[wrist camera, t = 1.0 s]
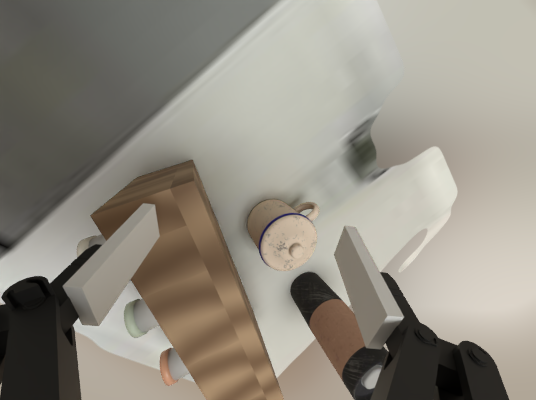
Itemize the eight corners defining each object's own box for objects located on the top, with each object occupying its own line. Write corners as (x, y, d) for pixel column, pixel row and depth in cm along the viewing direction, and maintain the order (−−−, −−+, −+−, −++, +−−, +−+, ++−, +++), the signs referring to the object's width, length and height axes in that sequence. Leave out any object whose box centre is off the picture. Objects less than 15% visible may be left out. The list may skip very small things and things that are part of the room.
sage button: (129, 295, 30) (120, 320, 26) (181, 273, 31) (180, 294, 27) (144, 318, 31) (138, 345, 27) (193, 296, 33) (193, 319, 29)
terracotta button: (161, 344, 33) (157, 373, 29) (207, 322, 35) (209, 347, 31) (174, 363, 35) (171, 392, 31) (216, 341, 36) (219, 367, 32)
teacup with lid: (263, 253, 42) (288, 294, 31) (235, 219, 38) (252, 252, 27) (312, 214, 43) (353, 241, 32) (289, 177, 39) (327, 193, 28)
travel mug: (285, 302, 47) (345, 411, 28) (294, 270, 45) (364, 363, 27) (316, 301, 49) (389, 399, 31) (325, 271, 48) (408, 355, 30)
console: (136, 177, 31) (90, 215, 17) (192, 159, 33) (194, 180, 18) (215, 331, 43) (227, 433, 28) (253, 312, 45) (283, 399, 30)
